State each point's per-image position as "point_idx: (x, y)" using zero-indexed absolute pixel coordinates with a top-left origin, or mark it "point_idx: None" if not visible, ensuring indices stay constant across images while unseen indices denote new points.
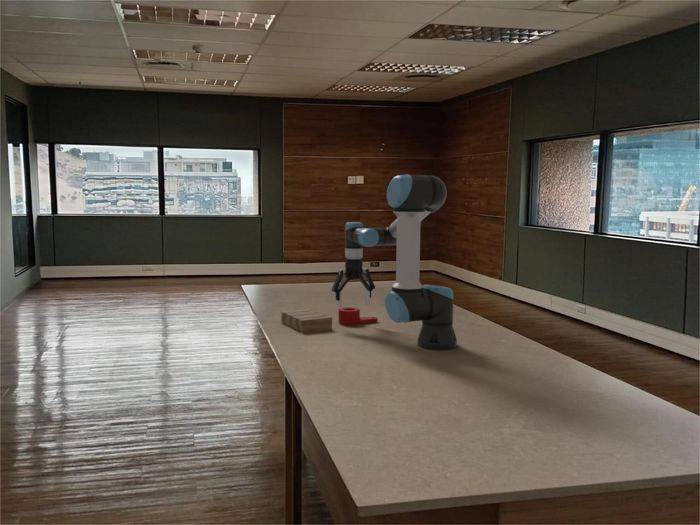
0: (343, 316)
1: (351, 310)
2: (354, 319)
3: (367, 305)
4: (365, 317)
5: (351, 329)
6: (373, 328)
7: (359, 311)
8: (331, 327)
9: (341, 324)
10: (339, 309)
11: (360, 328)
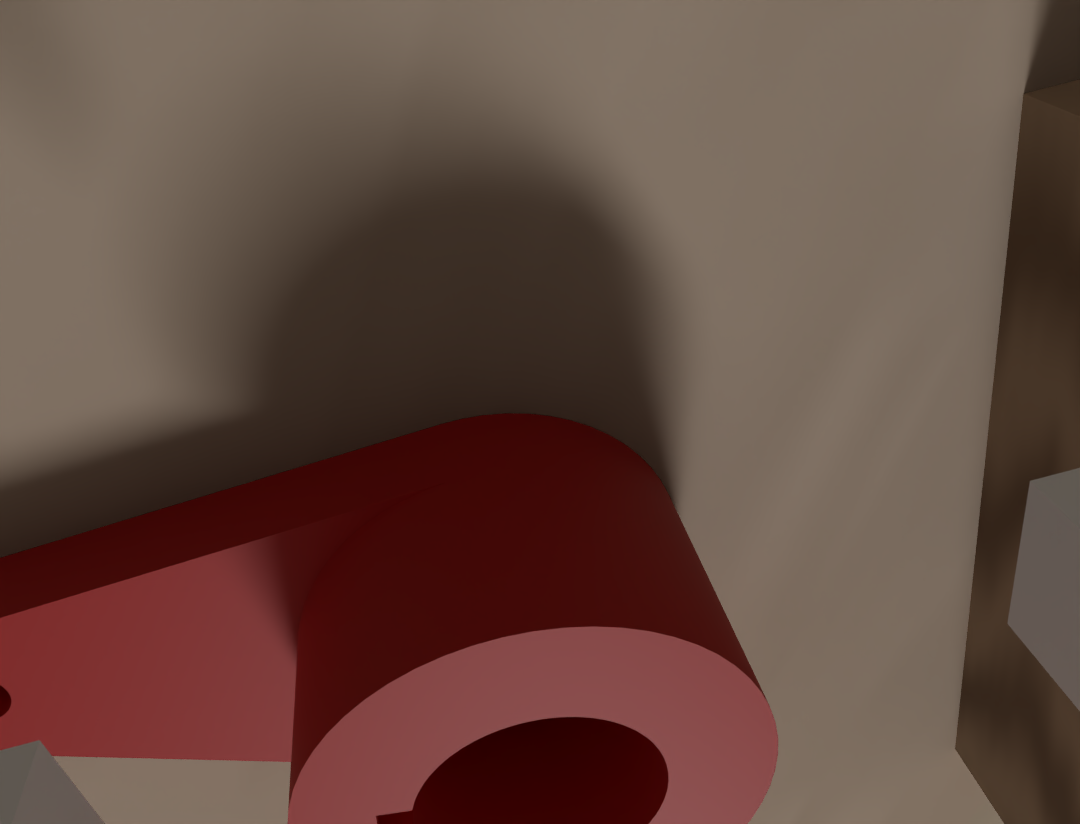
0: (693, 574)
1: (535, 697)
2: (454, 501)
3: (55, 772)
4: (151, 725)
5: (615, 85)
6: (46, 64)
7: (308, 722)
8: (1077, 107)
9: (666, 494)
10: (749, 792)
11: (383, 141)
